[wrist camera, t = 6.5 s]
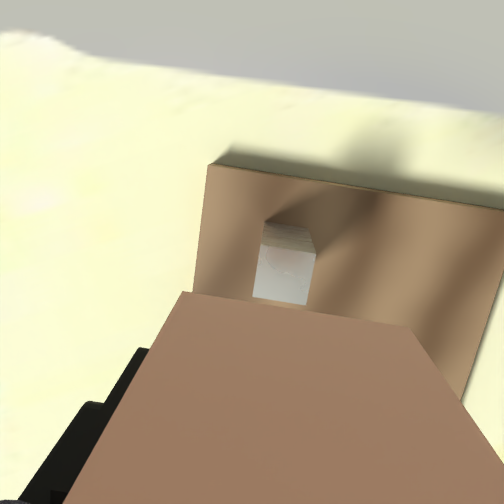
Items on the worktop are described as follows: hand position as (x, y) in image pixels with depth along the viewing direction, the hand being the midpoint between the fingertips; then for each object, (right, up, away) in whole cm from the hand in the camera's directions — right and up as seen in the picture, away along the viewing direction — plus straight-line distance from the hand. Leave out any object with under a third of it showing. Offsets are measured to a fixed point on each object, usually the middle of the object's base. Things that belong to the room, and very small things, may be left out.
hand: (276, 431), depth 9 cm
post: (+1, +5, +17) cm, 18 cm away
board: (+4, -2, +19) cm, 19 cm away
